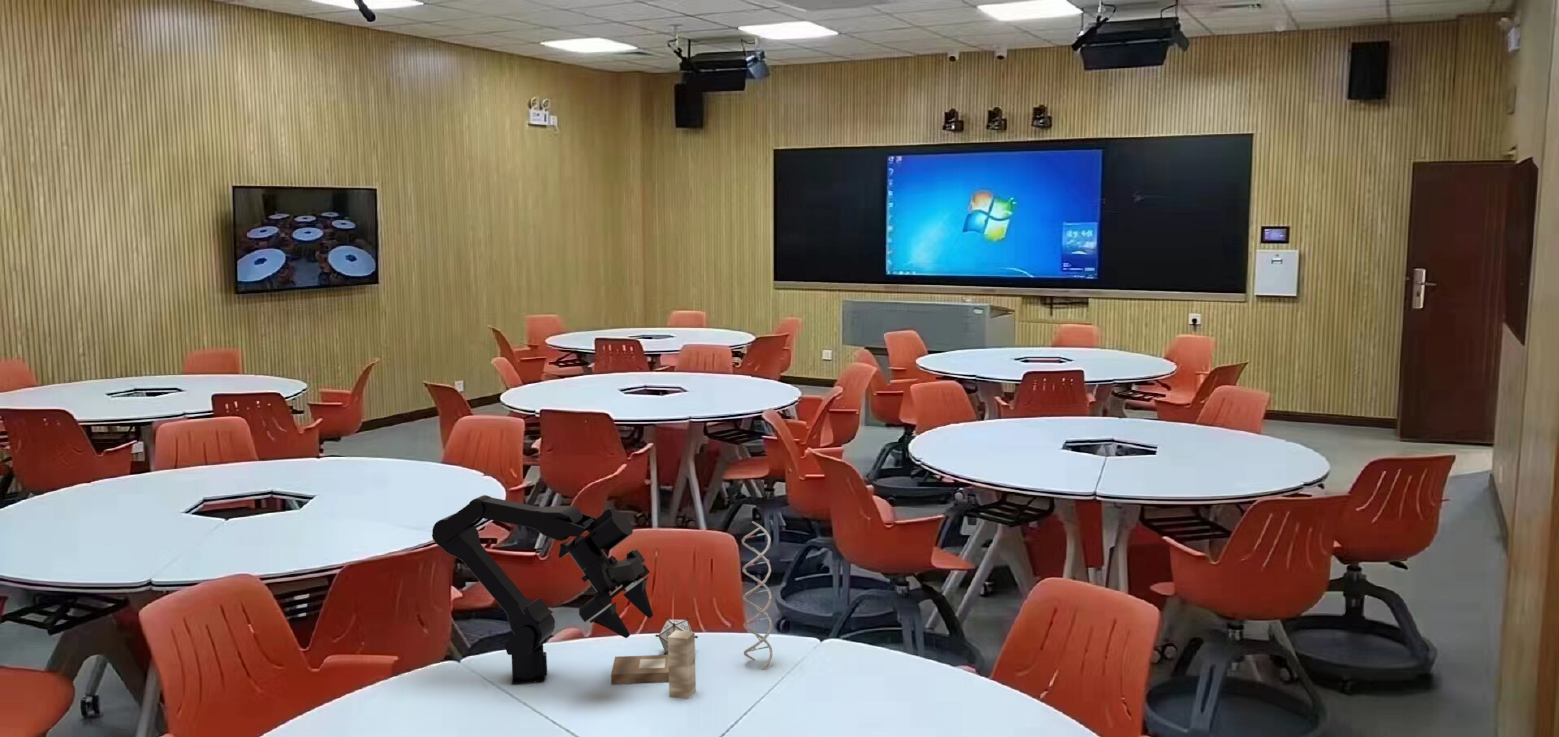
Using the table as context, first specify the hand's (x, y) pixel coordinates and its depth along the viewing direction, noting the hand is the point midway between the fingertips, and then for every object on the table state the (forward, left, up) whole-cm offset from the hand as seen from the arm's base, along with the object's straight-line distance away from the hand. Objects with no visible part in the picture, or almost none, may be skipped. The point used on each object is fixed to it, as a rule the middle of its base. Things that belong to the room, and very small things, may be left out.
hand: (640, 626), depth 230 cm
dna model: (+25, +7, -13) cm, 29 cm away
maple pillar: (+8, -5, -13) cm, 15 cm away
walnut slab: (+3, +7, -13) cm, 15 cm away
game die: (+9, +17, -13) cm, 23 cm away
